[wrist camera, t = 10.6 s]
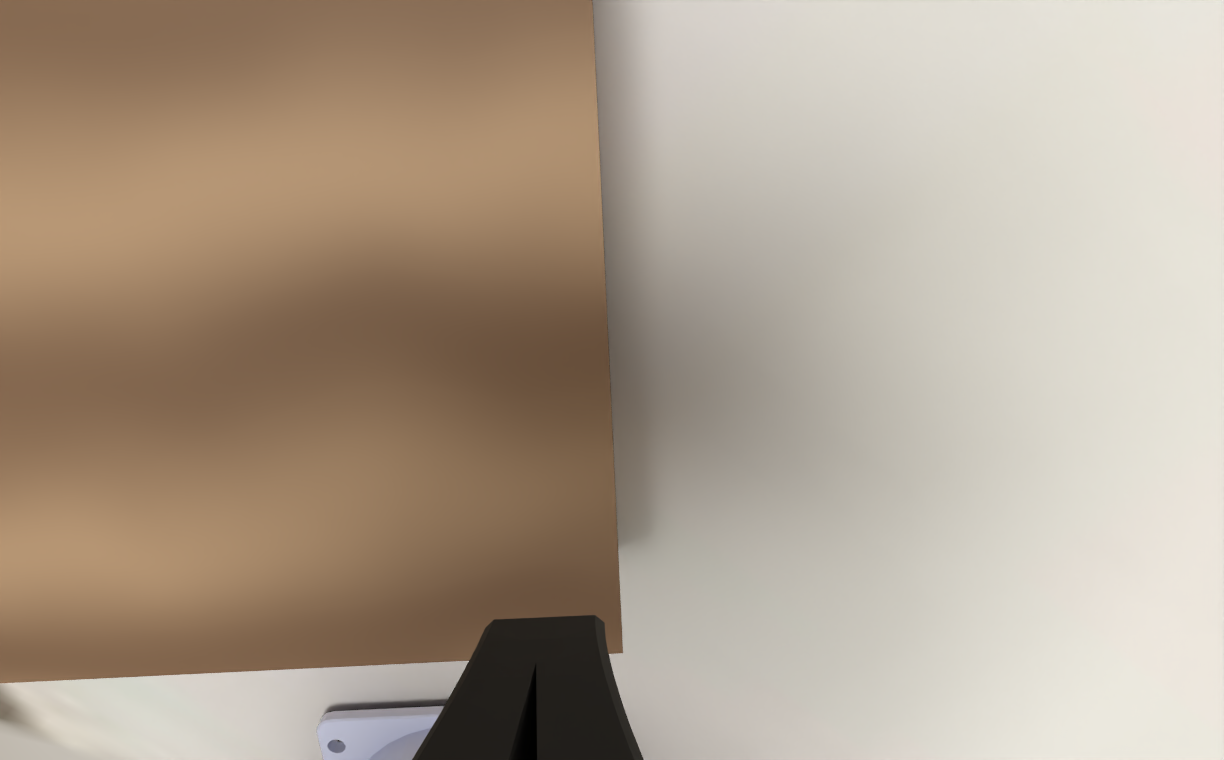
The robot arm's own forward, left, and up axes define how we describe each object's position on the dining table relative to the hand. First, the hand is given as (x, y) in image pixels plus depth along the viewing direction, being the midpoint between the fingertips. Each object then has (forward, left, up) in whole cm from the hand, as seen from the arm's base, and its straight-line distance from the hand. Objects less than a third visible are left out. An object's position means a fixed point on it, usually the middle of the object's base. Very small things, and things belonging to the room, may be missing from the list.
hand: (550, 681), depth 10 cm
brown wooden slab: (+2, +8, -10) cm, 13 cm away
